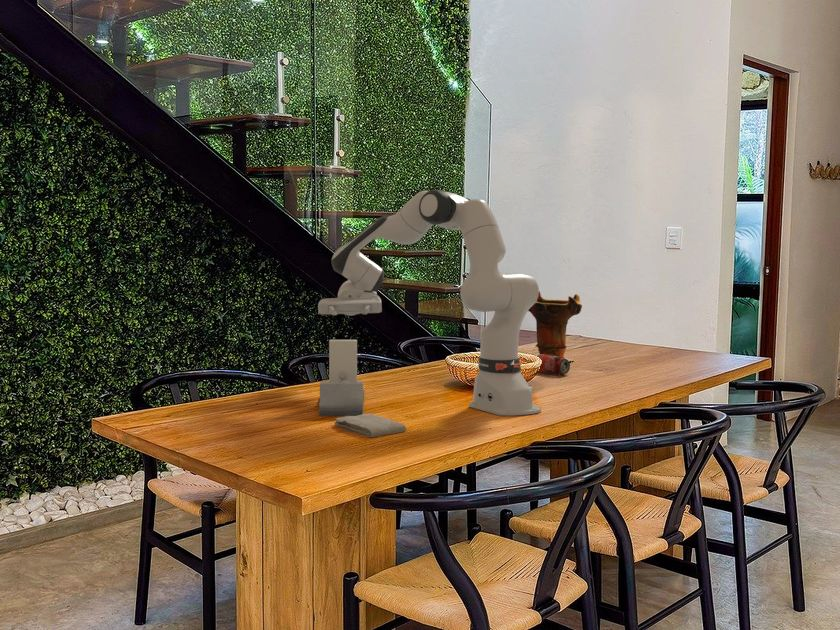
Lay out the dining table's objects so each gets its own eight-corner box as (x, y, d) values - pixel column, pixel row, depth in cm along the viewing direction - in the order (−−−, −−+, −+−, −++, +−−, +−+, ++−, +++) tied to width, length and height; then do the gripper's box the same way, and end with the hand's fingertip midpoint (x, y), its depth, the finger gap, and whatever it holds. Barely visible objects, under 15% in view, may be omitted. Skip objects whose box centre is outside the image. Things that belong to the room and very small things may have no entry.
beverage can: (559, 377, 314) (560, 358, 313) (533, 373, 322) (534, 354, 322) (572, 375, 318) (573, 356, 318) (546, 371, 327) (546, 353, 326)
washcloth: (367, 421, 243) (367, 410, 243) (408, 433, 229) (408, 421, 229) (331, 427, 236) (331, 415, 235) (371, 440, 222) (371, 428, 221)
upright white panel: (322, 395, 266) (322, 338, 264) (357, 395, 267) (357, 338, 265) (321, 400, 258) (321, 342, 256) (356, 400, 259) (356, 342, 257)
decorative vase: (582, 364, 338) (580, 291, 336) (522, 365, 343) (519, 293, 341) (584, 357, 359) (582, 288, 356) (526, 358, 363) (524, 289, 361)
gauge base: (324, 395, 277) (323, 368, 276) (364, 395, 277) (364, 368, 276) (317, 415, 247) (317, 385, 246) (362, 415, 247) (362, 385, 247)
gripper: (318, 292, 289) (315, 303, 276) (381, 291, 290) (381, 301, 277) (319, 311, 291) (316, 323, 277) (381, 309, 292) (382, 321, 278)
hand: (349, 312), depth 277 cm, fingers open, 8 cm apart
